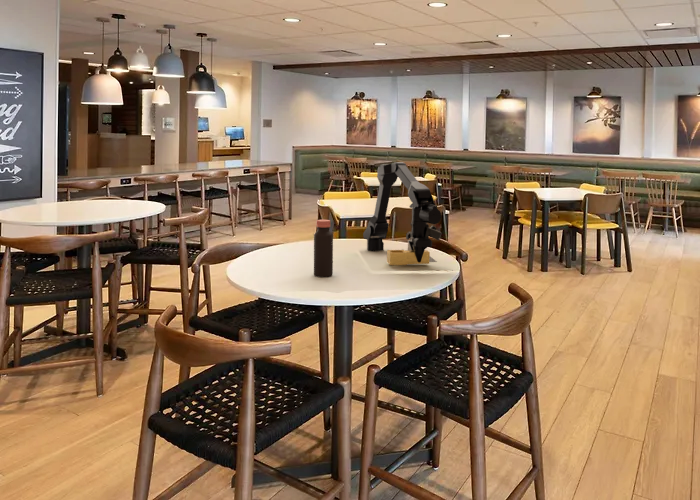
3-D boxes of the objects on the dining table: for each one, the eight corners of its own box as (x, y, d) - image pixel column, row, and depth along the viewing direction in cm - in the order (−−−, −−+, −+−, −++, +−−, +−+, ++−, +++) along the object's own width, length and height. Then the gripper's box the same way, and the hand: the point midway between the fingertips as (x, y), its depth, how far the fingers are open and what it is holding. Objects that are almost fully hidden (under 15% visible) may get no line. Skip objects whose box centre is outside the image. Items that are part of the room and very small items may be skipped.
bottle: (325, 278, 217) (326, 222, 213) (310, 275, 221) (310, 220, 217) (336, 274, 223) (336, 220, 219) (320, 272, 226) (321, 218, 223)
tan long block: (426, 261, 239) (426, 249, 238) (430, 264, 232) (430, 252, 232) (387, 261, 237) (387, 250, 236) (389, 264, 231) (390, 253, 230)
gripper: (446, 224, 224) (444, 266, 227) (434, 217, 242) (432, 256, 245) (416, 224, 223) (415, 266, 226) (406, 217, 241) (405, 256, 244)
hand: (417, 261), depth 235 cm, fingers closed on tan long block, 4 cm apart
